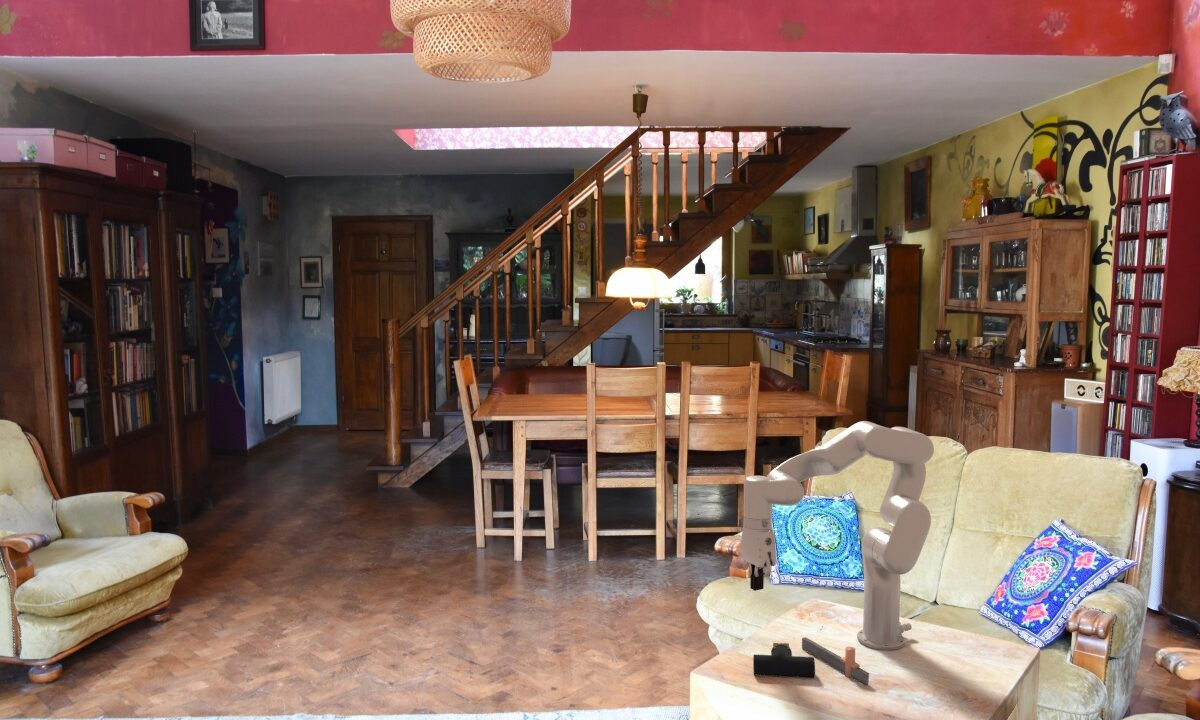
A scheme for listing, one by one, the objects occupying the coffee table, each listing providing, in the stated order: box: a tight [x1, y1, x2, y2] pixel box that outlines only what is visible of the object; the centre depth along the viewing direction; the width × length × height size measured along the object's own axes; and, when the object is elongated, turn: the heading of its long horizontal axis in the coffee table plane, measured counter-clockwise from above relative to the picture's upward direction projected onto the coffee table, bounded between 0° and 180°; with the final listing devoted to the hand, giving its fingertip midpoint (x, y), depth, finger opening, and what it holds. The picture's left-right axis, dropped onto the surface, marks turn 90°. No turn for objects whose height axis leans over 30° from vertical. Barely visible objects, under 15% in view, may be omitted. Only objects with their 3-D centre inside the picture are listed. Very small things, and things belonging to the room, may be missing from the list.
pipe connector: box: [752, 642, 816, 679], centre depth 220 cm, size 12×5×15 cm
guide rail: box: [801, 636, 870, 686], centre depth 221 cm, size 2×24×7 cm, turn 26°
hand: (756, 588), depth 230 cm, fingers closed
